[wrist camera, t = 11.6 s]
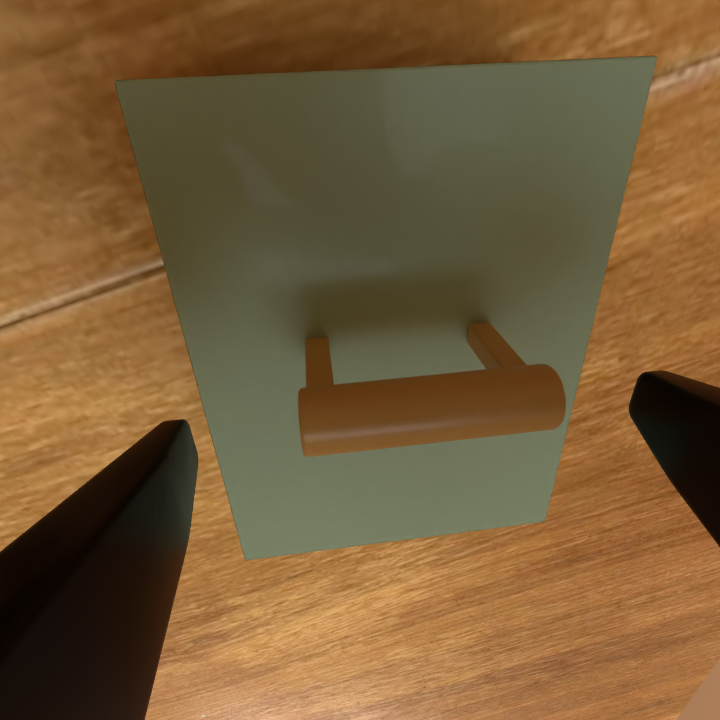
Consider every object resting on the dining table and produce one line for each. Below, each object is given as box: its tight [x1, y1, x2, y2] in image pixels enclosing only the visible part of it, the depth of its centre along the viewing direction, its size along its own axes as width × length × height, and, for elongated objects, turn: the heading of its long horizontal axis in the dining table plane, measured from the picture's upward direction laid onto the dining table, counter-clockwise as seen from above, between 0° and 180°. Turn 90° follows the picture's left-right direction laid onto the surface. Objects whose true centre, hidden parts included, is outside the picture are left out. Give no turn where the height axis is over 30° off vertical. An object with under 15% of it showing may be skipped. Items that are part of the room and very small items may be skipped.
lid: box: [115, 56, 657, 560], centre depth 13 cm, size 16×13×5 cm
